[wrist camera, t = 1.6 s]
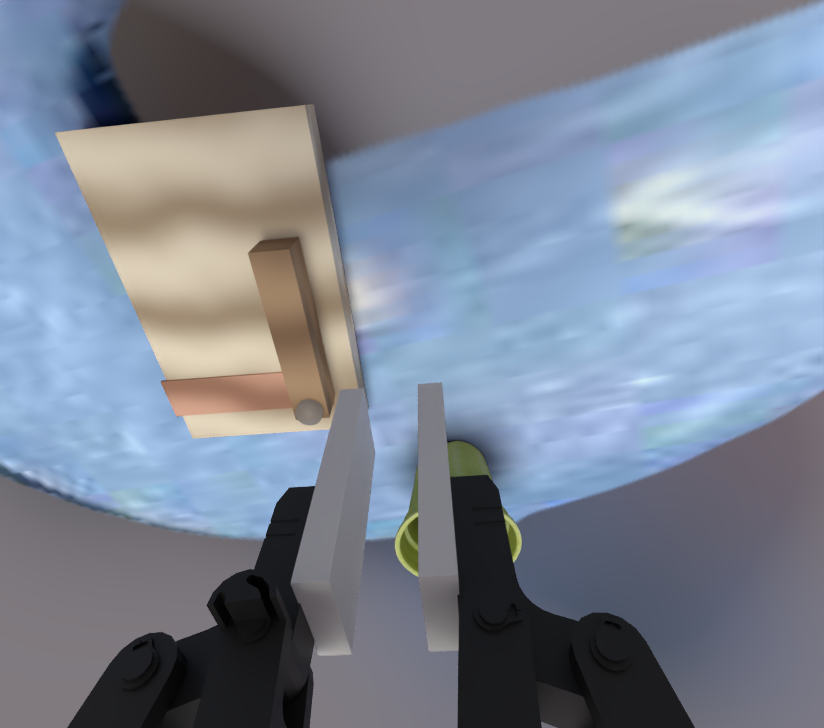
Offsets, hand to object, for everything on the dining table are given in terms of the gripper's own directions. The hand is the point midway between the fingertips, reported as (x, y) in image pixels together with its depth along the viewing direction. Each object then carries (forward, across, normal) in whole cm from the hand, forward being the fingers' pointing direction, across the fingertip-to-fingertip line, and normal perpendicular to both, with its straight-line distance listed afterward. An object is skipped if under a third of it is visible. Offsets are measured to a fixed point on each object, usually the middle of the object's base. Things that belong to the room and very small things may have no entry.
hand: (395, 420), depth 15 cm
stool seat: (+18, -12, -2) cm, 22 cm away
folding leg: (+16, -7, -4) cm, 18 cm away
